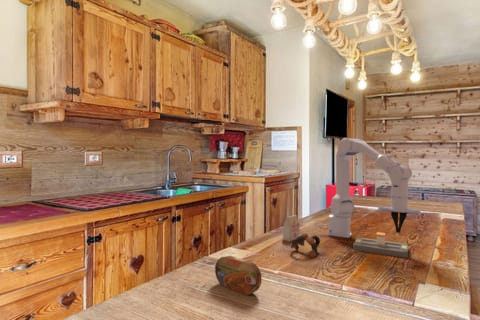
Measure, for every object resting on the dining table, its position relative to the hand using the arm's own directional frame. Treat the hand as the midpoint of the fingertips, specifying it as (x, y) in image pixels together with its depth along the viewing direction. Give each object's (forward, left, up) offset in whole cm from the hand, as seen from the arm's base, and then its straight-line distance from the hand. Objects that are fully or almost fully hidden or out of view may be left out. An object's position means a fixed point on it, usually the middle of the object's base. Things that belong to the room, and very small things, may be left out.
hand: (398, 232), depth 125 cm
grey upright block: (-41, -4, -8) cm, 42 cm away
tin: (-39, -59, -8) cm, 71 cm away
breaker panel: (-6, 0, -8) cm, 10 cm away
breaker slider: (-6, 0, -5) cm, 8 cm away
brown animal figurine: (-30, -19, -8) cm, 37 cm away
